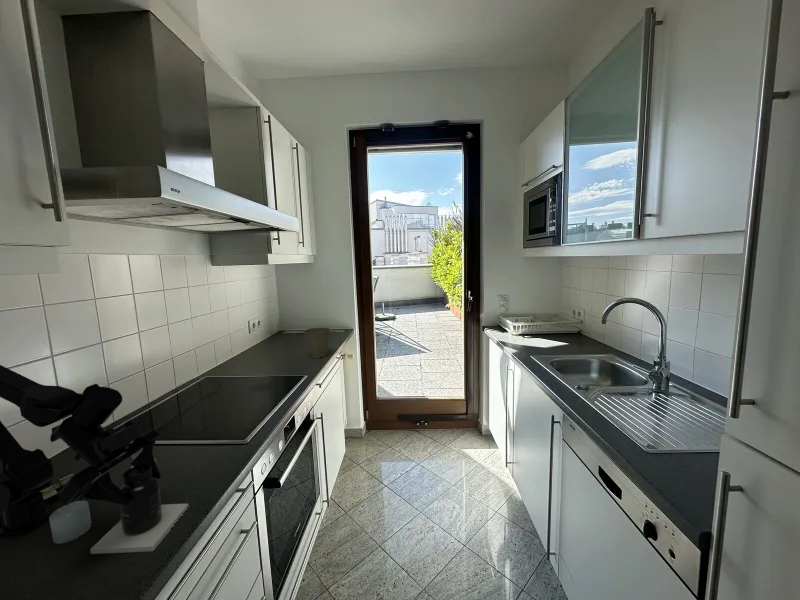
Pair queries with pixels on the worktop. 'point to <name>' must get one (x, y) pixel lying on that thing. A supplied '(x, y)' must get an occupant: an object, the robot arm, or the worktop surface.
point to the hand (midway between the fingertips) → (144, 490)
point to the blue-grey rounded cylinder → (70, 521)
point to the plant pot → (317, 341)
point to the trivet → (140, 534)
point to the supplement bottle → (140, 500)
